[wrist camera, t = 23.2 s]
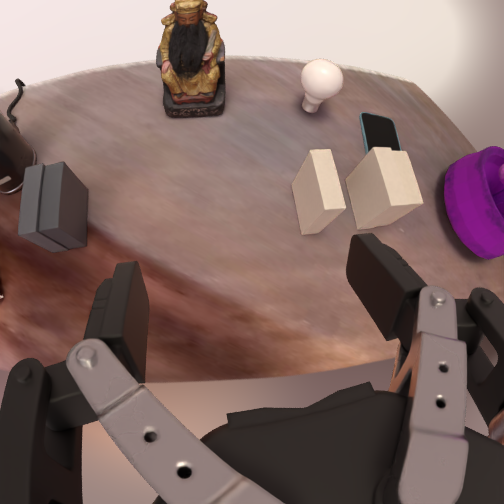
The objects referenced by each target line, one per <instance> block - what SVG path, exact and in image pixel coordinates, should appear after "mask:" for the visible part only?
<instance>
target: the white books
mask: <svg viewBox="0 0 504 504" xmlns="http://www.w3.org/2000/svg"><path fill="white" fill-rule="evenodd" d="M345 182H346V185H347V189H348V193H349V197H350V201H351V205H352V209H353V213H354V217H355V221H356V226H357V230H360V229H369V228H374V227H376V226H385V225H389V224H391V223H393V222H394V221H396V220H398V219H399V218H401V217H402V216H404V215H406V214H407V213H409V212H410V211H412V210H414V209H415V208H417V207H418V206H420V205H421V204H423V200H422V196H421V193H420V190H419V187H418V184H417V180H416V177H415V174H414V171H413V168H412V166H411V163H410V160H409V157H408V154H407V152H406V151H392V150H391V148H388V147H373V148H372V149H371V150H370V151H369V152H368V154H367V155H366V156H365V157H364V158H363V159H362V161H361V162H360V163H359V164H358V165H357V166H356V168H355V169H354V170H353V171H352V172H351V173H350V175H349V176H348V177H347V178H346V179H345Z"/></svg>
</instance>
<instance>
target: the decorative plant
mask: <svg viewBox="0 0 504 504" xmlns="http://www.w3.org/2000/svg"><path fill="white" fill-rule="evenodd" d="M444 201H445V206H446V212H447V215H448V217H449V220H450V222H451V225H452V228H453V230H454V231H455V233H456V234H457V236H458V237H459V239H460V240H461V242H462V243H463V244H465V245H466V246H467V247H468V248H469V249H470V250H471V251H472V252H474V253H475V254H476V255H477V256H480V257H482V258H485V259H488V260H489V259H493V258H496V257H499V256H502V255H504V149H502V148H500V147H497V146H490V147H488V148H486V149H484V150H482V151H480V152H477V153H473V154H469V155H466V156H464V157H463V158H461V159H459V160H458V161H456V162H455V163H453V164H451V165H450V167H449V169H448V171H447V173H446V175H445V187H444Z"/></svg>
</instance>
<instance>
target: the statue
mask: <svg viewBox="0 0 504 504" xmlns="http://www.w3.org/2000/svg"><path fill="white" fill-rule="evenodd" d="M207 5H208V4H207V2H206V1H204V0H175V2H174V3H172V4H171V5H170V10H171V11H172V12H173V13H171V14H169V15H168V16H166V17H165V18H163V19H162V20H161V22H162V24H163V25H165V29H164V32H163V36H162V40H161V43H160V45H159V47H158V50H157V56H156V65H157V67H158V68H160V70H161V78H162V81H163V85H164V96H163V105H164V109H165V112H166V114H167V115H168V116H170V117H203V116H213V115H219V114H221V113H222V112H223V109H224V103H225V62H224V61H225V46H224V42H223V40H222V39H221V38H220V34H219V30H218V28H217V25H216V24H215V21H216V20H217V16H216V15H214V14H211V13H209V12H207V11H206V8H207Z"/></svg>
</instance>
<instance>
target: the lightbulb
mask: <svg viewBox="0 0 504 504" xmlns="http://www.w3.org/2000/svg"><path fill="white" fill-rule="evenodd" d="M301 83H302V86H303V88H304V90H305V98H304V101H303V103H302V107H303V109H304V110H305V111H307V112H310V113H314V112H316V111H317V109H318V107H319V105H320V103H322V102H323V101H324V100H325V99H328V98H331V97H333V96H335V95H336V94H337V93H338V92H339V91H340V90H341V88H342V86H343V74H342V72H341V70H340V68H339V67H338V66H337V65H336V64H335V63H333V62H331V61H329V60H326V59H315V60H312V61H310V62H309V63H307V64H306V65H305V66H304V68H303V70H302V72H301Z"/></svg>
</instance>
